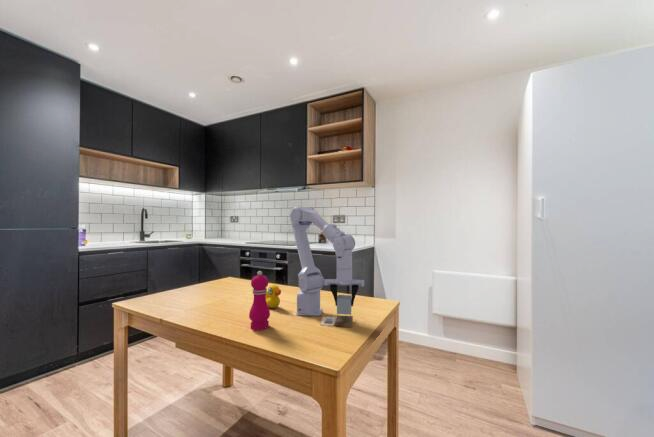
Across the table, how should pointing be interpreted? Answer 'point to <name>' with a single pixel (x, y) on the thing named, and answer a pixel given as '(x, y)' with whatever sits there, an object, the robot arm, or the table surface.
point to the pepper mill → (259, 303)
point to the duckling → (273, 296)
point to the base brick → (344, 321)
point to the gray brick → (344, 304)
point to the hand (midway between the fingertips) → (344, 305)
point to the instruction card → (328, 321)
